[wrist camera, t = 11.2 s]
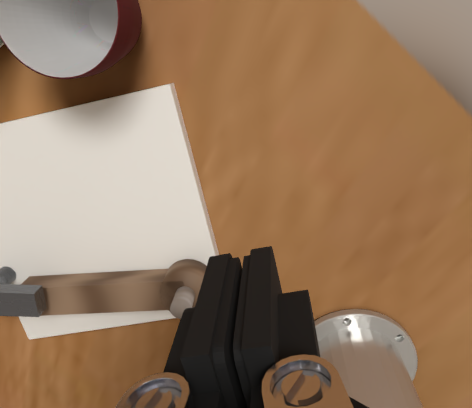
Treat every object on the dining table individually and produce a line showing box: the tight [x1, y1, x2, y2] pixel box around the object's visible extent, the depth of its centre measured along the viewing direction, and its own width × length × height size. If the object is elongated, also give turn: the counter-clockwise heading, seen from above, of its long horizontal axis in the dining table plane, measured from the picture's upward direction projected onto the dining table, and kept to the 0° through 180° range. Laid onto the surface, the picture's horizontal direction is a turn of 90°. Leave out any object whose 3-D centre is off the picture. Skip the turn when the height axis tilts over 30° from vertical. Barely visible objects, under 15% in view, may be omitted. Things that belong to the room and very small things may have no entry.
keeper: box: [0, 266, 47, 317], centre depth 40 cm, size 7×2×5 cm, turn 91°
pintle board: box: [0, 83, 219, 340], centre depth 40 cm, size 22×22×2 cm
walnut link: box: [21, 259, 207, 319], centre depth 39 cm, size 18×5×5 cm, turn 96°
